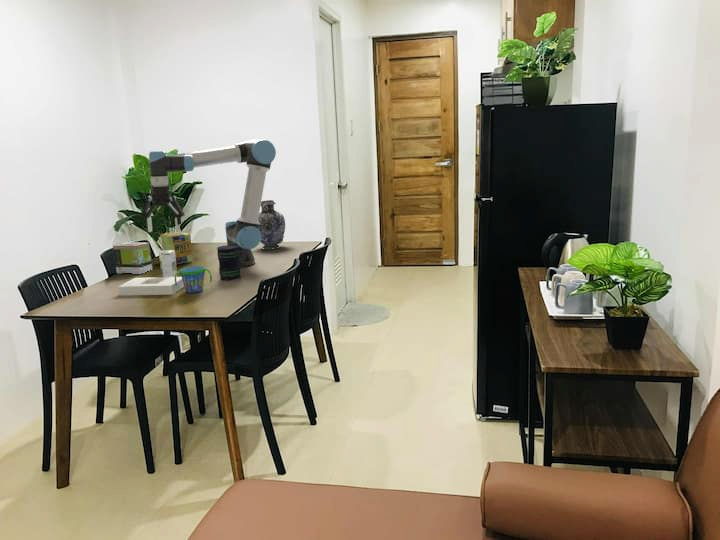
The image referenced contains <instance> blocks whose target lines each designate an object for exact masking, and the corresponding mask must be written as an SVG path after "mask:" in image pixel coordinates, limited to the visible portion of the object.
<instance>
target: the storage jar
mask: <svg viewBox="0 0 720 540" xmlns="http://www.w3.org/2000/svg"><path fill="white" fill-rule="evenodd" d="M216 249H217V259H218V265H219V268H218V270H219V271H218V272H219V279H221V280H220V281H224V280H225V281H226V282H228V281H235V280H240V279H241V278H242V276H241V274H242V273H241V267H240V266H239V251H238V246H237V245H227V244H225V245H221V246H217V248H216ZM225 281H224V282H225Z"/></svg>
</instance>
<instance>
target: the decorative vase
mask: <svg viewBox="0 0 720 540" xmlns="http://www.w3.org/2000/svg"><path fill="white" fill-rule="evenodd" d="M275 205H276V202H275V201H274V200H272V199H268V200H261V205H260V208H261V212H259V217H258V221H259V222H260V229H259V231H260V233H261V241H260V243H261V244H263V246H262V248H264V249H272V248H278V247H279V246H280V244H281V243H283V242H284V238H285V232H286V219H285V217H284V215H283V214H282V213H281V212H279V211H276V210H275ZM264 249H263V250H264Z"/></svg>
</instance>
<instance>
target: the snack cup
mask: <svg viewBox="0 0 720 540" xmlns="http://www.w3.org/2000/svg"><path fill="white" fill-rule="evenodd" d="M206 271H207V272H208V274H209V276H210V277H209V282H210V283H212V282H213V279H212V278H213V277H212V276H213V275H212V273H211V271H210V270H209V269H207V268H206V267H204V266H202V265H201V266H200V265H199V266H198V265H197V266H196V265H195V266H185V267H182V268H180V269H179V270H177V273H176V274H175V284H176V286H177V283H176V275H177V276H178V275H179V274H180V276H181V277H182V280H183V284H184V287H183V288H184V290H185V292H186V293H190V294H192V293H193V294H194V293H200V292H202V291H203V290H204V284H205V283H204V279H205V273H206Z"/></svg>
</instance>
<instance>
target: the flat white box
mask: <svg viewBox="0 0 720 540" xmlns="http://www.w3.org/2000/svg"><path fill="white" fill-rule="evenodd" d="M176 283H177V286H176V284H175V277H161V276H157V277H155V276H154V277H149V276H147V277H133V278H132V279H130V280H128V281H126V282H124V283H122V284H121V285H119V286H117V288H118V295H119V296H152V295H153V296H159V295H161V296H163V295H170V296H171V295H172V296H173V295H174V294H176V293H177V292H178V291H180V290H181V289H183V288H185V287H184V284H183V280H182V276H177V277H176Z"/></svg>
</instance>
